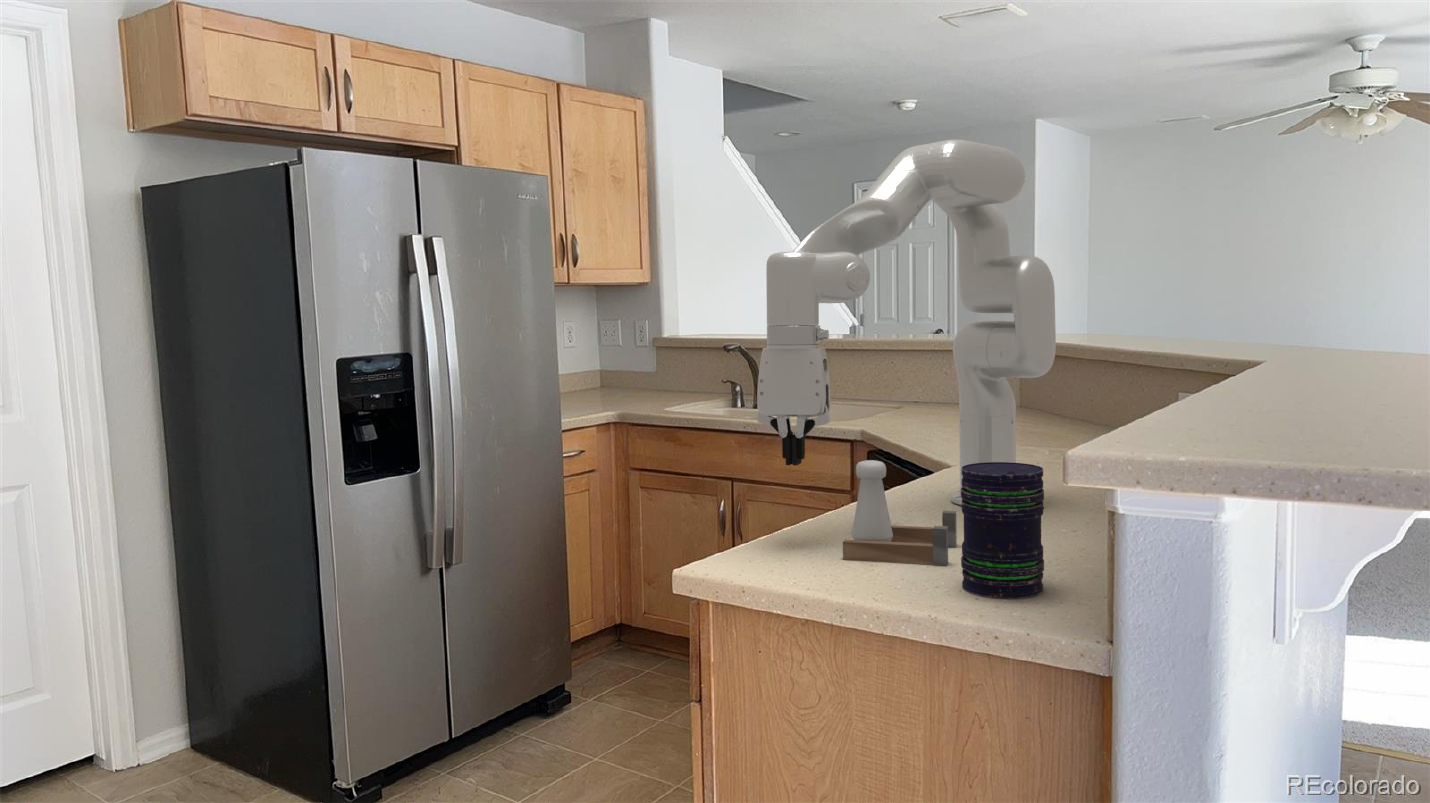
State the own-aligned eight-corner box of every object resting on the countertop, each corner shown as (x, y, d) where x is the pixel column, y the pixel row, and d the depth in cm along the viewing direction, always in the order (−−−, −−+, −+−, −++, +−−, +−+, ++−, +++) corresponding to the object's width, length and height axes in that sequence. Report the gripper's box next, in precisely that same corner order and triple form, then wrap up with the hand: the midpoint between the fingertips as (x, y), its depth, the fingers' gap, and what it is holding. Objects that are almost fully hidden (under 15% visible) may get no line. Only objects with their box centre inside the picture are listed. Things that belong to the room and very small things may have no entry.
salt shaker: (900, 549, 145) (899, 460, 144) (878, 557, 141) (876, 465, 140) (866, 543, 149) (865, 457, 148) (844, 551, 145) (842, 462, 144)
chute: (860, 539, 152) (859, 507, 151) (956, 544, 147) (956, 510, 146) (842, 559, 140) (842, 524, 140) (946, 565, 136) (946, 529, 135)
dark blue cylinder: (950, 578, 129) (950, 463, 128) (1025, 575, 130) (1025, 460, 128) (976, 601, 119) (976, 476, 118) (1057, 597, 120) (1057, 473, 119)
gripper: (849, 337, 147) (849, 462, 148) (751, 338, 152) (752, 458, 153) (838, 338, 140) (838, 469, 141) (735, 339, 145) (737, 465, 146)
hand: (793, 463), depth 147 cm, fingers closed
